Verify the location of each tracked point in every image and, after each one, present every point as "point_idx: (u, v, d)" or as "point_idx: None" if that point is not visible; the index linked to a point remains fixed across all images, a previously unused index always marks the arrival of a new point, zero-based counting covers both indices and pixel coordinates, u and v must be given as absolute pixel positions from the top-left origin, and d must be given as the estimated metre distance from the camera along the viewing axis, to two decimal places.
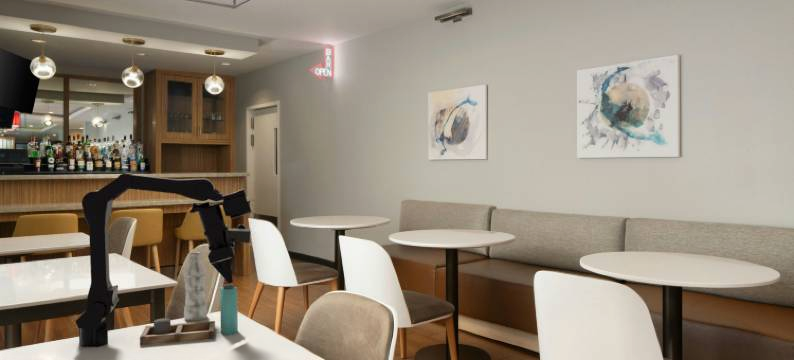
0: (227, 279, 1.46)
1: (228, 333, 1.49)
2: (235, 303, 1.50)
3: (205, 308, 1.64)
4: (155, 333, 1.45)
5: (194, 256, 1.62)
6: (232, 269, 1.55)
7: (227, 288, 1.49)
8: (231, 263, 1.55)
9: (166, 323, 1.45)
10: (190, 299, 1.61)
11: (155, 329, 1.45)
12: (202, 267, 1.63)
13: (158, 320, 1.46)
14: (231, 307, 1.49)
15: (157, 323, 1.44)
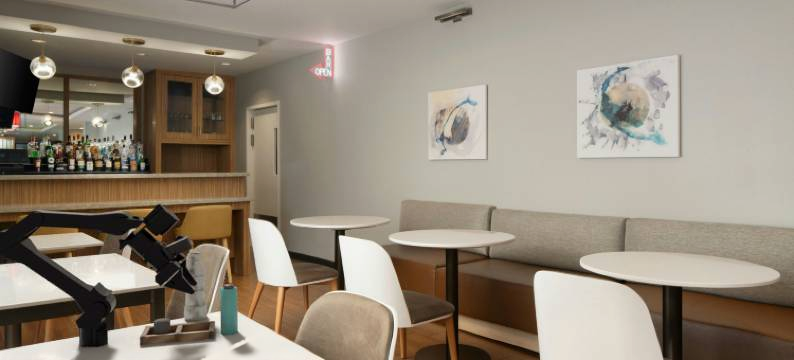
0: (188, 291, 1.43)
1: (228, 333, 1.49)
2: (235, 303, 1.50)
3: (205, 308, 1.64)
4: (155, 333, 1.45)
5: (194, 256, 1.62)
6: (194, 279, 1.52)
7: (227, 288, 1.49)
8: (190, 274, 1.52)
9: (166, 323, 1.45)
10: (190, 299, 1.61)
11: (155, 329, 1.45)
12: (202, 267, 1.63)
13: (158, 320, 1.46)
14: (231, 307, 1.49)
15: (157, 323, 1.44)
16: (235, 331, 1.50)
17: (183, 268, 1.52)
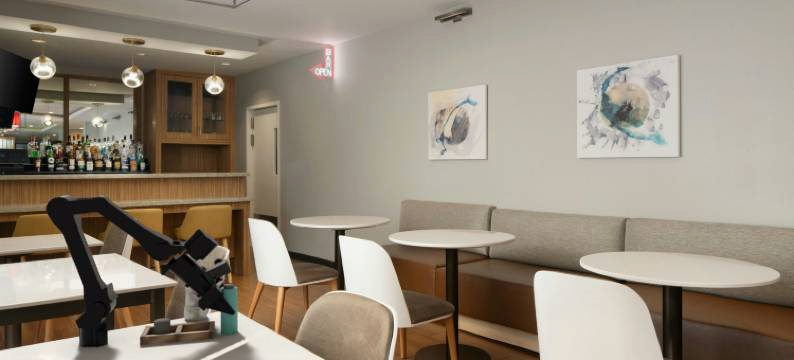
0: (229, 312, 1.48)
1: (228, 333, 1.49)
2: (235, 303, 1.50)
3: None
4: (155, 333, 1.45)
5: None
6: None
7: (227, 288, 1.49)
8: None
9: (166, 323, 1.45)
10: (190, 299, 1.61)
11: (155, 329, 1.45)
12: None
13: (158, 320, 1.46)
14: (231, 306, 1.49)
15: (157, 323, 1.44)
16: (235, 331, 1.50)
17: None
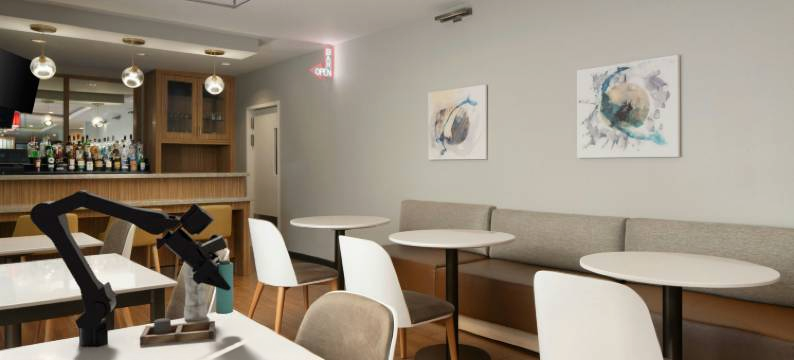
0: (224, 288, 1.47)
1: (223, 308, 1.48)
2: (231, 279, 1.49)
3: (205, 308, 1.64)
4: (155, 333, 1.45)
5: None
6: None
7: (223, 263, 1.49)
8: None
9: (166, 323, 1.45)
10: (190, 299, 1.61)
11: (155, 329, 1.45)
12: None
13: (158, 320, 1.46)
14: None
15: (157, 323, 1.44)
16: (230, 307, 1.50)
17: None
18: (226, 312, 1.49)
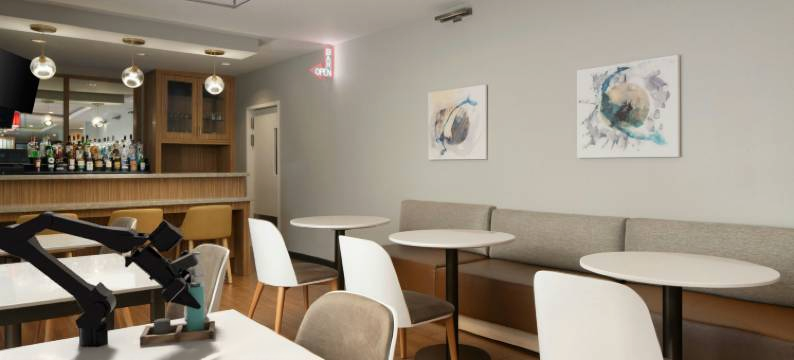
0: (194, 306, 1.45)
1: None
2: (201, 301, 1.48)
3: (205, 308, 1.64)
4: (155, 333, 1.45)
5: None
6: None
7: (193, 286, 1.47)
8: None
9: (166, 323, 1.45)
10: None
11: (155, 329, 1.45)
12: (202, 267, 1.63)
13: (158, 320, 1.46)
14: None
15: (157, 323, 1.44)
16: (201, 330, 1.48)
17: None
18: None
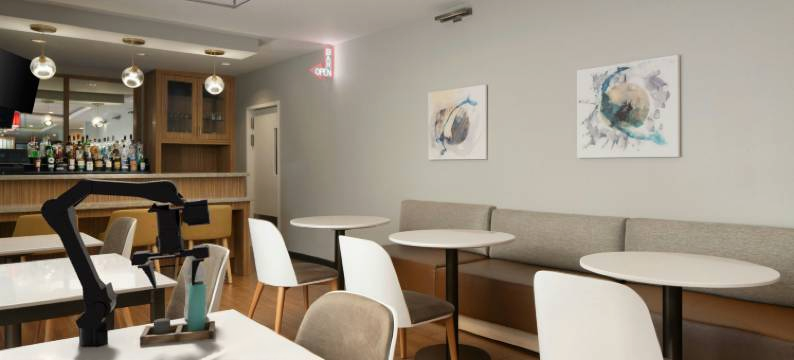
0: (194, 280, 1.48)
1: (194, 329, 1.47)
2: (203, 299, 1.49)
3: (205, 308, 1.64)
4: (154, 333, 1.45)
5: None
6: None
7: (196, 283, 1.49)
8: None
9: (165, 323, 1.45)
10: None
11: (154, 329, 1.45)
12: (202, 267, 1.63)
13: (158, 320, 1.46)
14: (199, 302, 1.48)
15: (156, 323, 1.44)
16: (202, 328, 1.48)
17: (152, 267, 1.46)
18: None
